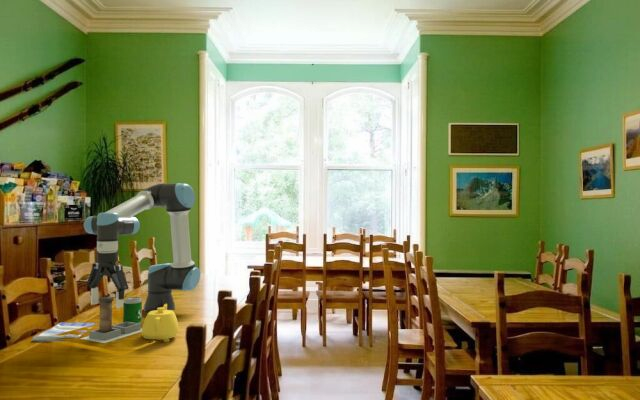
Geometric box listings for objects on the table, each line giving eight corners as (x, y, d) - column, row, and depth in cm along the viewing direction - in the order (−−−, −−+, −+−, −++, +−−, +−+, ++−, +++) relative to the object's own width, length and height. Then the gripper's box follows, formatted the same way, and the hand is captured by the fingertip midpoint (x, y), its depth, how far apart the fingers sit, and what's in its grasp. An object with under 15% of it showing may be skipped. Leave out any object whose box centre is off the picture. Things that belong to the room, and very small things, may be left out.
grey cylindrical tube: (106, 334, 181) (106, 296, 181) (115, 335, 178) (116, 297, 179) (94, 337, 176) (95, 298, 176) (104, 339, 174) (105, 300, 174)
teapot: (181, 331, 191) (182, 302, 191) (173, 345, 171) (174, 312, 171) (148, 332, 189) (149, 302, 189) (136, 346, 169) (137, 313, 169)
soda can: (134, 328, 195) (135, 300, 195) (119, 327, 197) (119, 299, 197) (144, 324, 202) (145, 297, 203) (129, 322, 204) (130, 296, 204)
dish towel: (30, 343, 173) (30, 335, 173) (60, 327, 197) (60, 320, 197) (77, 343, 175) (77, 335, 175) (101, 327, 198) (101, 320, 198)
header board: (125, 328, 194) (125, 319, 194) (148, 332, 189) (148, 323, 189) (79, 341, 174) (80, 331, 174) (104, 346, 169) (104, 336, 169)
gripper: (76, 251, 180) (76, 304, 180) (123, 254, 169) (122, 311, 169) (93, 249, 186) (92, 300, 186) (138, 252, 176) (138, 307, 176)
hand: (106, 306), depth 178 cm, fingers open, 13 cm apart
